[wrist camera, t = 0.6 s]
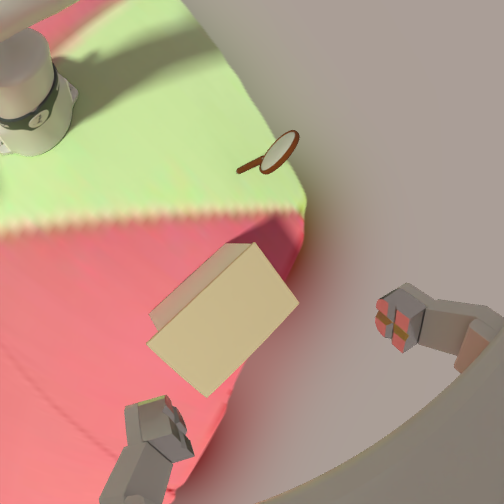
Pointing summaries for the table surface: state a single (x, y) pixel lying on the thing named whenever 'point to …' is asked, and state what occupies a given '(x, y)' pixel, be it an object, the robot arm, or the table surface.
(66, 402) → the table surface
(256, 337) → the lid flap
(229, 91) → the table surface
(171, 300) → the carton
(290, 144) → the magnifying glass
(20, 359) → the table surface
